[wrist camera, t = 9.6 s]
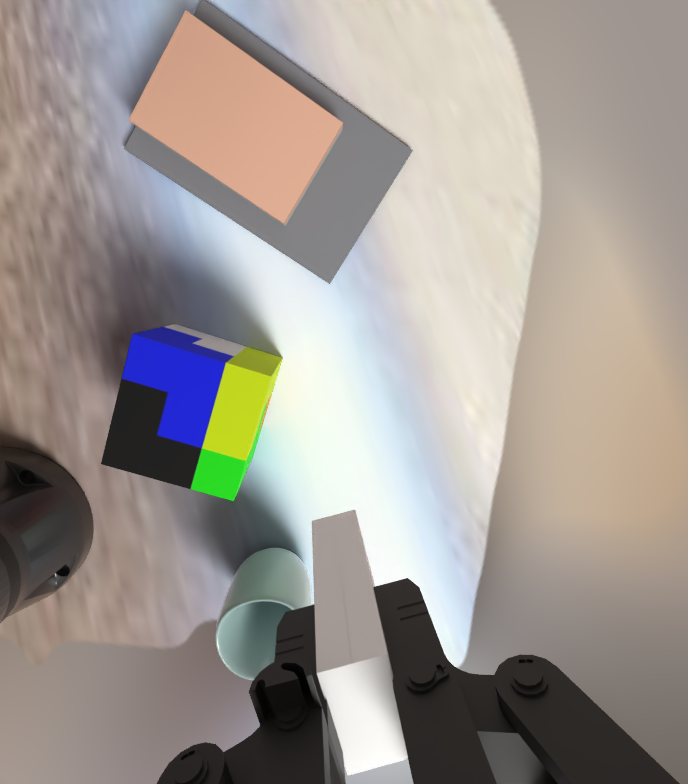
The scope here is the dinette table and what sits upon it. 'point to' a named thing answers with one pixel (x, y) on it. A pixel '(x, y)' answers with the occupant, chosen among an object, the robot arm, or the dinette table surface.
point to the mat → (330, 185)
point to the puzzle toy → (190, 409)
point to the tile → (235, 119)
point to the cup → (259, 608)
